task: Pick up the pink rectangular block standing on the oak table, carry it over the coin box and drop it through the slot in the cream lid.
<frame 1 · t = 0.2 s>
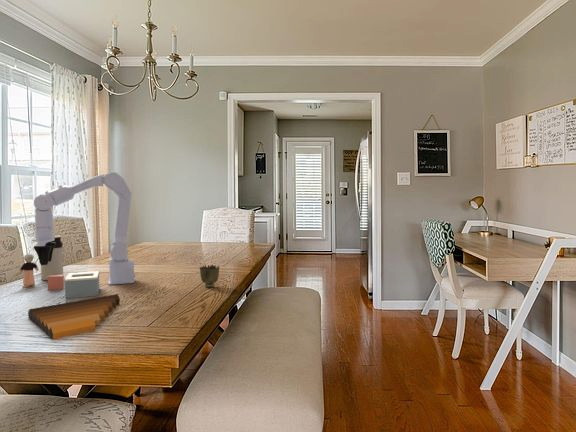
hand: (46, 263, 152), 10 cm above the table, tool pointing down, fingers open, 7 cm apart
travel mug: (52, 279, 170), on the table
coin box: (83, 293, 146), on the table
grandmother figurine: (29, 286, 157), on the table
pink rectangular block: (56, 289, 152), on the table
pan flute: (89, 320, 117), on the table
cup: (209, 287, 155), on the table
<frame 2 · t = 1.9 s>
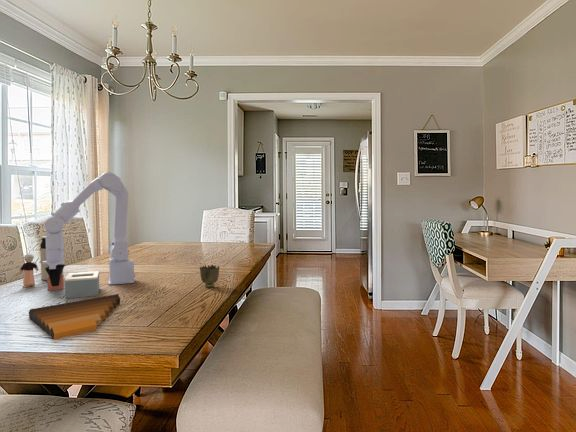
hand: (55, 285, 152), 1 cm above the table, tool pointing down, fingers closed on pink rectangular block, 3 cm apart
pink rectangular block: (56, 288, 152), on the table, touching gripper
everything else where it was.
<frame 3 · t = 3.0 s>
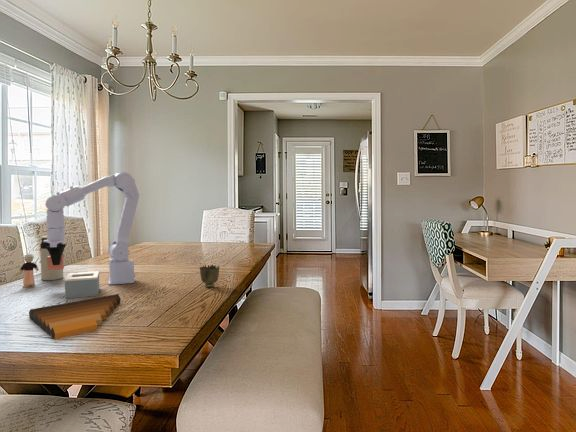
hand: (57, 264, 152), 9 cm above the table, tool pointing down, fingers closed on pink rectangular block, 3 cm apart
pink rectangular block: (55, 269, 152), point 7 cm above the table, touching gripper
everything else where it was.
when the fingers open (8 cm above the table, at t = 4.3 s): pink rectangular block drops 6 cm, resting on coin box.
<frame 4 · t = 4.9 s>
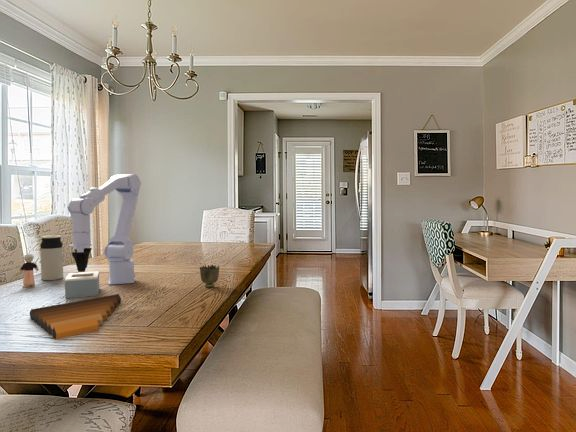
hand: (82, 269, 146), 8 cm above the table, tool pointing down, fingers open, 7 cm apart
pink rectangular block: (81, 292, 146), resting on coin box
everything else where it was.
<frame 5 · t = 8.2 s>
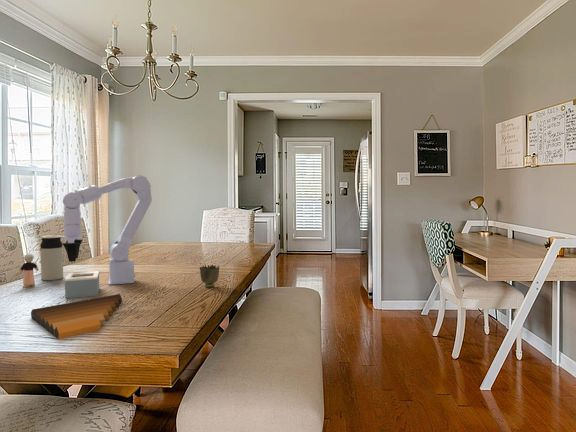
hand: (73, 259, 155), 10 cm above the table, tool pointing down, fingers open, 7 cm apart
nothing on the table moved.
at the end: pink rectangular block inside the target area on the coin box (0.4 cm from its centre), point 0.4 cm above the coin box's base; the gripper is holding nothing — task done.
